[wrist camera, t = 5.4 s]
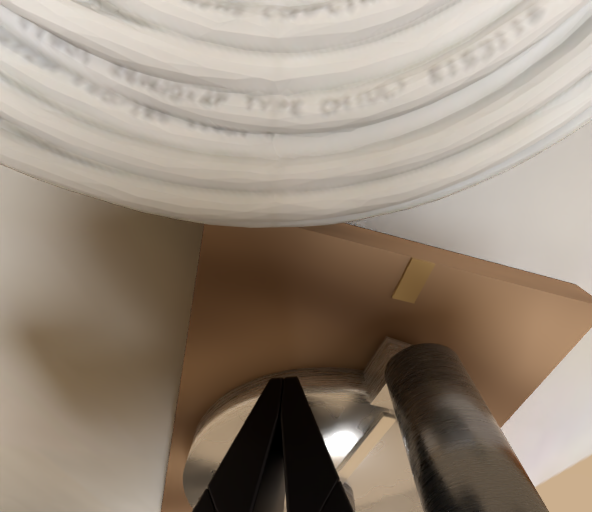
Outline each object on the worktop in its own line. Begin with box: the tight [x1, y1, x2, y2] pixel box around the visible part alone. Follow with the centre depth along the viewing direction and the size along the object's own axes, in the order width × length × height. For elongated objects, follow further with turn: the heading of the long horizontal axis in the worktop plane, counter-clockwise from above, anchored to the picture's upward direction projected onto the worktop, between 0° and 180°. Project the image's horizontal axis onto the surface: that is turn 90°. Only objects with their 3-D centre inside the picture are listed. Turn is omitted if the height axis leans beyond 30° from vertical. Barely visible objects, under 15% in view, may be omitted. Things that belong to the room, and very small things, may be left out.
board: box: [161, 223, 592, 512], centre depth 16 cm, size 22×14×2 cm, turn 165°
